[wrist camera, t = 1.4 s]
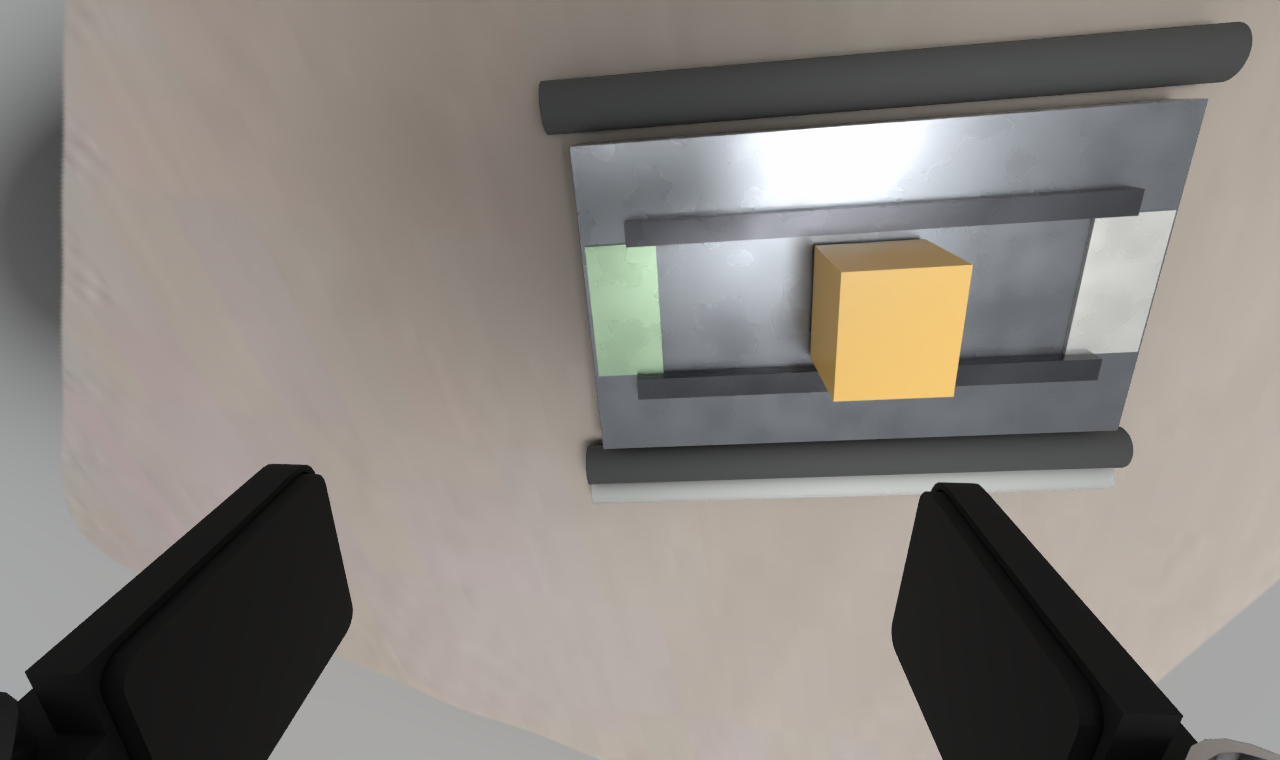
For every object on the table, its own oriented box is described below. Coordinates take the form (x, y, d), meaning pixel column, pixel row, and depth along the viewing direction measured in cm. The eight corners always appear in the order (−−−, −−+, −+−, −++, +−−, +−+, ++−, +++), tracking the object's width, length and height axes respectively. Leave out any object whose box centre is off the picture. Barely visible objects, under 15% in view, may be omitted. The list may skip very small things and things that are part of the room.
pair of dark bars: (1214, 25, 23) (1259, 18, 22) (1093, 478, 32) (1119, 501, 30) (546, 82, 26) (536, 80, 24) (596, 494, 34) (592, 516, 32)
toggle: (924, 238, 25) (972, 264, 21) (911, 352, 27) (953, 396, 23) (815, 245, 25) (841, 272, 21) (810, 357, 27) (833, 401, 23)
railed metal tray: (1168, 99, 25) (1226, 98, 22) (1090, 410, 30) (1129, 438, 28) (576, 144, 26) (566, 148, 24) (607, 429, 32) (601, 457, 30)
